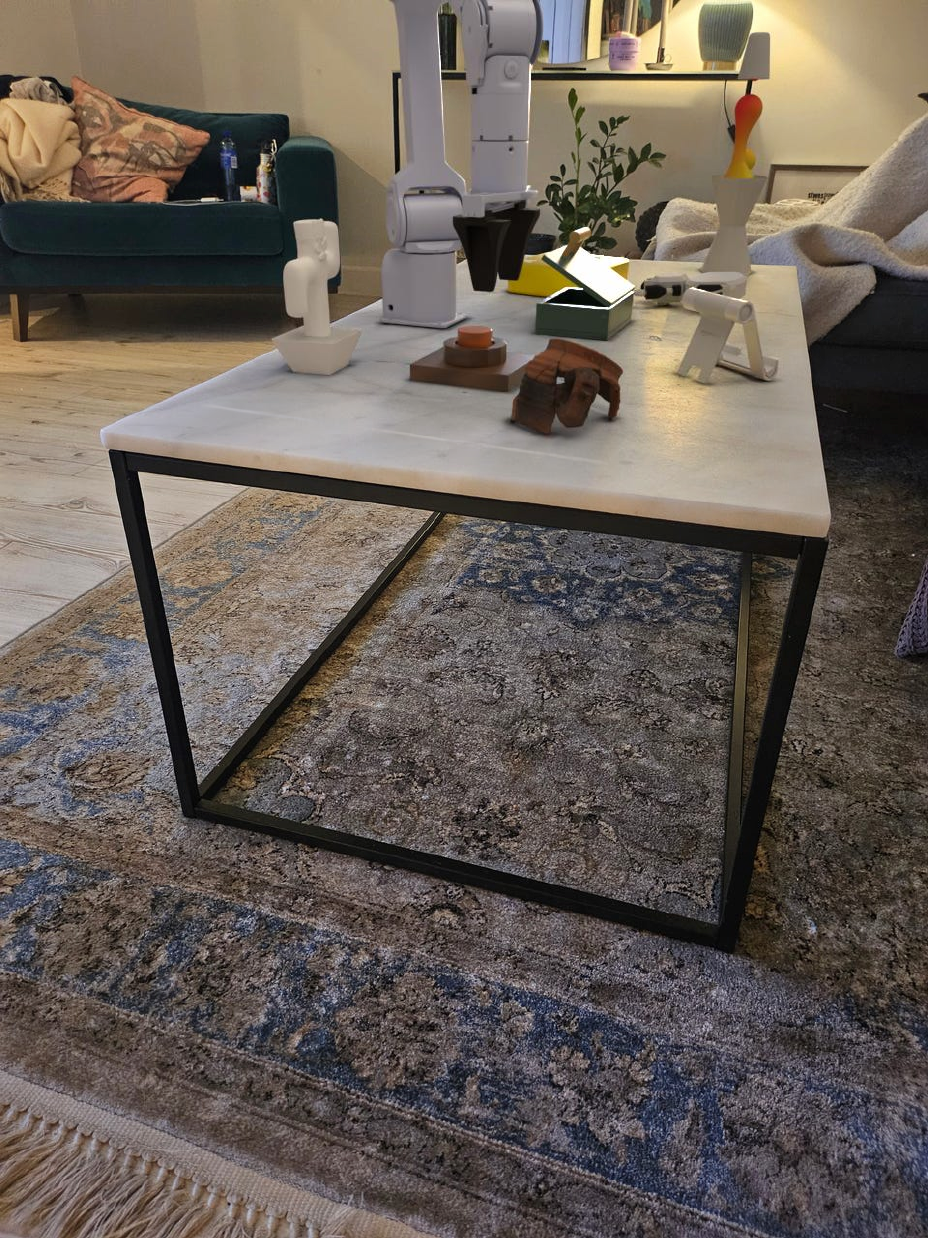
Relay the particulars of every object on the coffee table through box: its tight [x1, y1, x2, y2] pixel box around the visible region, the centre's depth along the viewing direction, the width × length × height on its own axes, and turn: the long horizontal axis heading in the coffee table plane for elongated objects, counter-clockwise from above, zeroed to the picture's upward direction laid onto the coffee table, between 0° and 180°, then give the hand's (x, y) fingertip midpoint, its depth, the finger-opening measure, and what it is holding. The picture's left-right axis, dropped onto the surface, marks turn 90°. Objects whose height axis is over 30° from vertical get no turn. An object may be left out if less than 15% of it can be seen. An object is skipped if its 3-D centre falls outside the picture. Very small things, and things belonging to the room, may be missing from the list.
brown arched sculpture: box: [509, 337, 624, 436], centre depth 78 cm, size 12×10×8 cm
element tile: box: [507, 251, 630, 298], centre depth 137 cm, size 15×15×5 cm
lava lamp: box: [700, 31, 771, 275], centre depth 145 cm, size 9×9×35 cm
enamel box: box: [534, 287, 635, 341], centre depth 114 cm, size 9×12×4 cm
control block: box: [409, 336, 537, 393], centre depth 93 cm, size 11×9×4 cm
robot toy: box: [633, 272, 751, 306], centre depth 126 cm, size 12×4×15 cm
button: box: [457, 325, 493, 347], centre depth 92 cm, size 4×4×2 cm
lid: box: [541, 226, 636, 308], centre depth 110 cm, size 10×12×4 cm
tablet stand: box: [677, 288, 779, 384], centre depth 92 cm, size 9×8×8 cm
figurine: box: [270, 218, 363, 376], centre depth 92 cm, size 7×9×15 cm
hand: (496, 285), depth 94 cm, fingers open, 7 cm apart
